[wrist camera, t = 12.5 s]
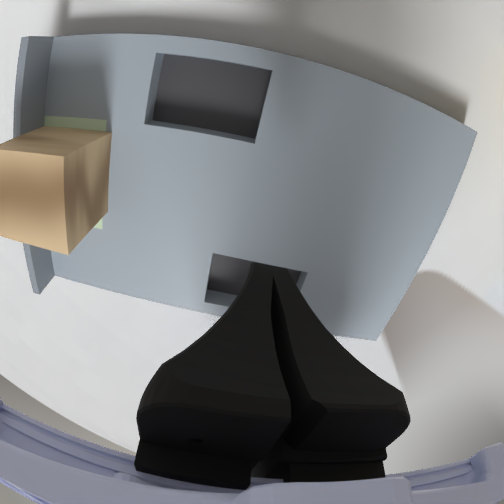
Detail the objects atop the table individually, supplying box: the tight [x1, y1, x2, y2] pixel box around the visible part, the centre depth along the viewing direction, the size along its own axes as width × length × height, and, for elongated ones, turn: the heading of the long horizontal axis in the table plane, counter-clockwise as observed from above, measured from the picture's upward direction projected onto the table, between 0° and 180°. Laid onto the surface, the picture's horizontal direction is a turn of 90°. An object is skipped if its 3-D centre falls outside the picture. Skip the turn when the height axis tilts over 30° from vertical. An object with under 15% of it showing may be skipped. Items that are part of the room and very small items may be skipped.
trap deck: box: [13, 34, 477, 341], centre depth 17 cm, size 17×26×4 cm, turn 77°
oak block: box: [0, 126, 112, 255], centre depth 14 cm, size 5×5×5 cm
